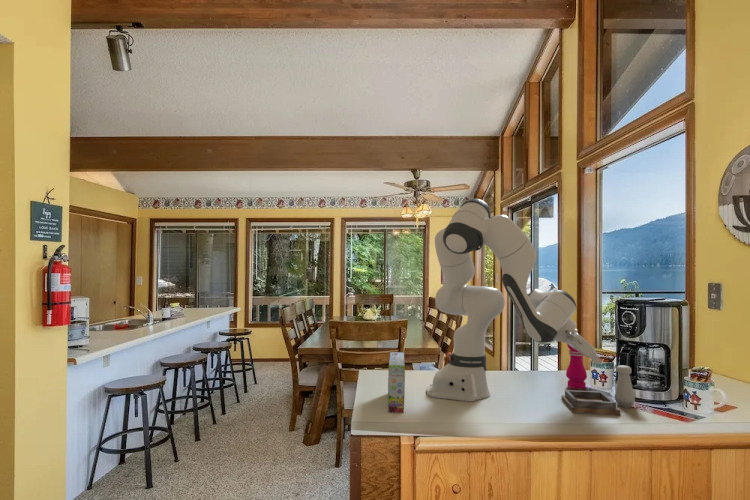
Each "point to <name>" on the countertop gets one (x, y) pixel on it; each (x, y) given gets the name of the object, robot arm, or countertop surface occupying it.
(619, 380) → the salt shaker
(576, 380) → the pepper mill
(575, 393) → the tray
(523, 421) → the countertop surface
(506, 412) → the countertop surface
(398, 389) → the snack box
